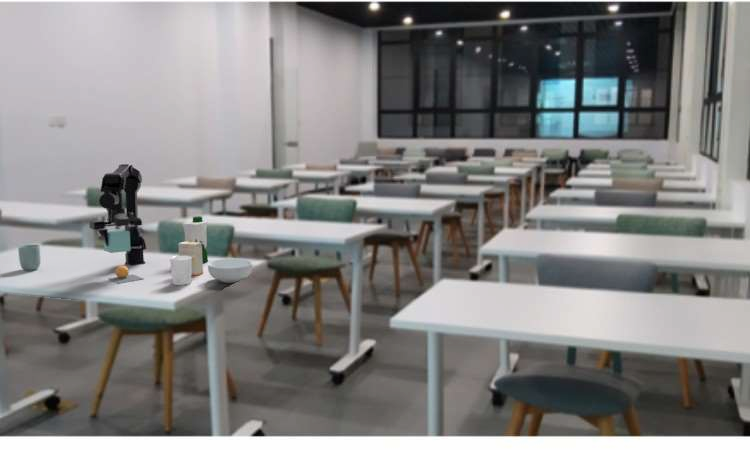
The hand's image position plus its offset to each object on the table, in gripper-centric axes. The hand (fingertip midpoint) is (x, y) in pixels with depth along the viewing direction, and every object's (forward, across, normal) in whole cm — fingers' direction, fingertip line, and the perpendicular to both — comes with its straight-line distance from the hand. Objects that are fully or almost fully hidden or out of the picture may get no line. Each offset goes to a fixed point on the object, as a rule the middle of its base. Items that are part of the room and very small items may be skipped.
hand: (117, 244), depth 260 cm
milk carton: (+13, +36, +4) cm, 38 cm away
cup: (+13, -22, +38) cm, 45 cm away
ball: (+11, 0, -2) cm, 11 cm away
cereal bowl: (+14, +30, -34) cm, 48 cm away
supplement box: (+13, +24, -14) cm, 31 cm away
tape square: (+13, +1, -5) cm, 14 cm away
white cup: (+14, +14, -26) cm, 32 cm away
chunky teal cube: (+2, 0, 0) cm, 2 cm away
